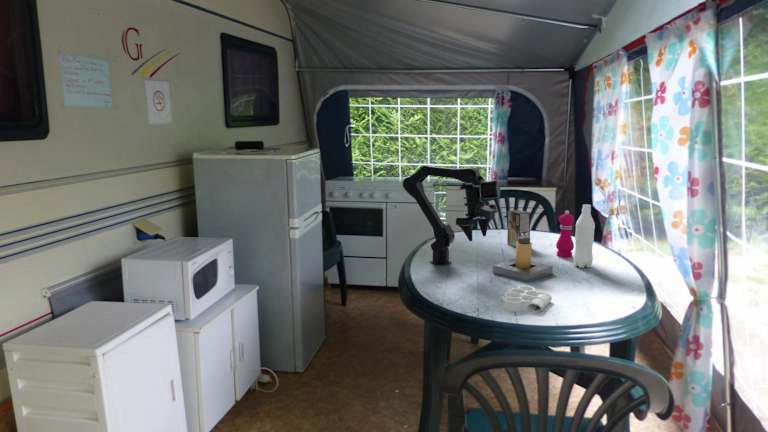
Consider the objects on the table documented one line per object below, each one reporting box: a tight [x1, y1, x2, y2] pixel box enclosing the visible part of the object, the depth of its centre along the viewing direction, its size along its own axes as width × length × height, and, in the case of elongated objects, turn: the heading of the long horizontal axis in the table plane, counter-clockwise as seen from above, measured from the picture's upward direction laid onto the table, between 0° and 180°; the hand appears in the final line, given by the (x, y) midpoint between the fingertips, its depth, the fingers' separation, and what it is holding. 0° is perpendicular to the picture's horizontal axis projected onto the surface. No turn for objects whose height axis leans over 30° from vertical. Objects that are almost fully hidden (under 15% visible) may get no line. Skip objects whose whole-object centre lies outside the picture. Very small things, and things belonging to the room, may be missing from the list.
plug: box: [515, 233, 533, 270], centre depth 202 cm, size 6×6×16 cm
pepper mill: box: [555, 209, 575, 259], centre depth 225 cm, size 7×7×20 cm
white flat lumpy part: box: [499, 285, 552, 313], centre depth 171 cm, size 3×18×15 cm
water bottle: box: [572, 203, 596, 269], centre depth 209 cm, size 7×7×25 cm
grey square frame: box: [492, 257, 554, 283], centre depth 203 cm, size 16×16×3 cm
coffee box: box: [506, 209, 532, 248], centre depth 244 cm, size 9×6×16 cm
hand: (477, 238), depth 209 cm, fingers open, 9 cm apart
